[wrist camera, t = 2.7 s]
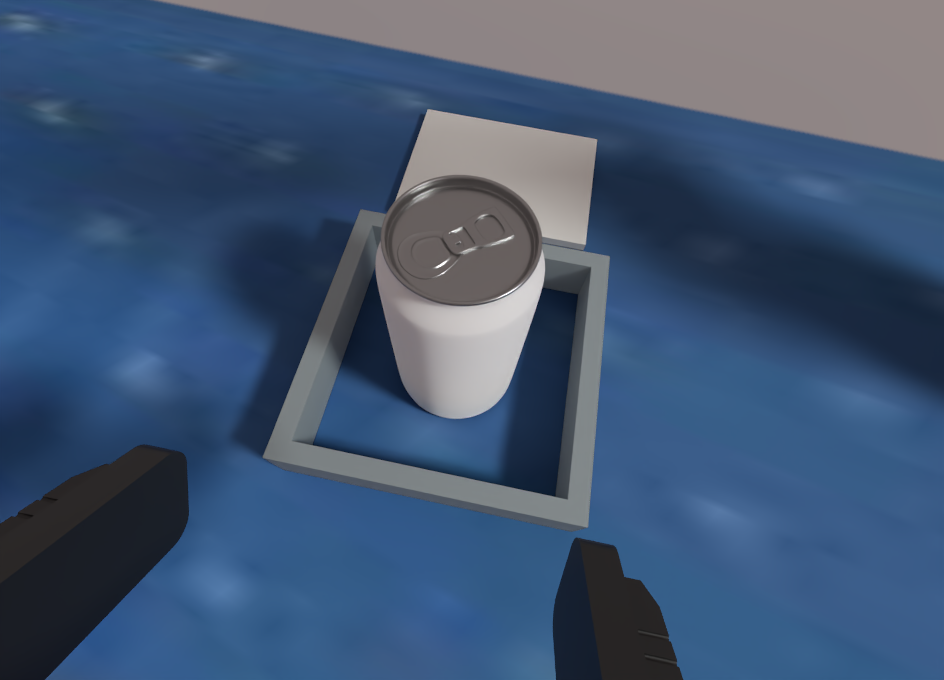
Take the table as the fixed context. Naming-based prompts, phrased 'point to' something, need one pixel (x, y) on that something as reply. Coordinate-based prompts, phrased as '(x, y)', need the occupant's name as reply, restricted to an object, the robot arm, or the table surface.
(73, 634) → the robot arm
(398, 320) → the can
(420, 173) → the mat
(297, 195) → the table surface
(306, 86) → the table surface
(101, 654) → the table surface
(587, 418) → the grey square frame
